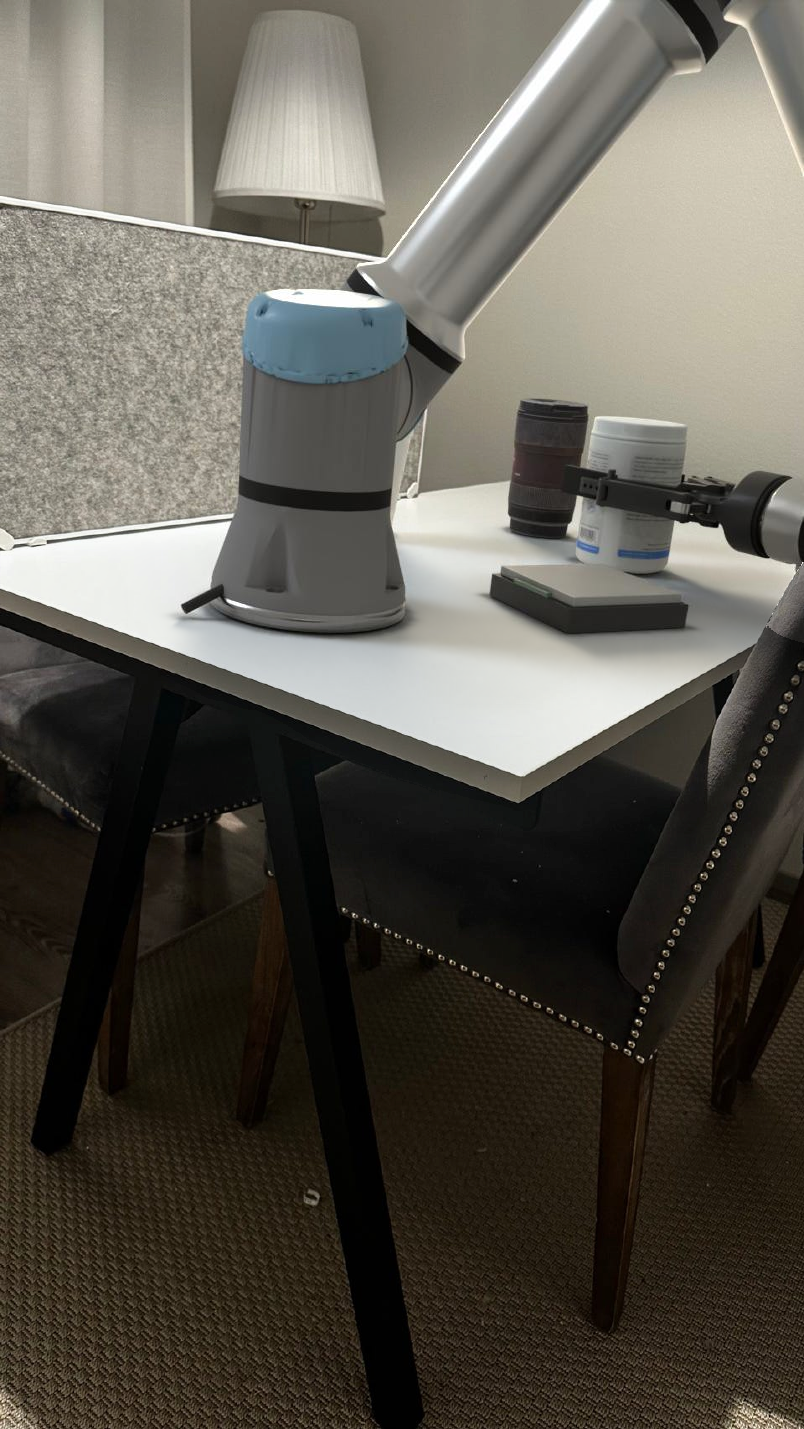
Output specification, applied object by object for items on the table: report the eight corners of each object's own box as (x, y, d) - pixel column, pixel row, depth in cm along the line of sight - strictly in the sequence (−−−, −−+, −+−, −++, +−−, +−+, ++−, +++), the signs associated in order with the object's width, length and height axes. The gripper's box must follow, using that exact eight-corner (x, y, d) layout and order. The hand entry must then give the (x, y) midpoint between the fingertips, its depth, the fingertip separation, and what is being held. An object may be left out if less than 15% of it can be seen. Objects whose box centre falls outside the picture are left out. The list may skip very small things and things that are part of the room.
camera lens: (490, 525, 130) (506, 395, 125) (549, 526, 134) (566, 399, 129) (524, 539, 124) (541, 402, 119) (584, 540, 127) (604, 407, 122)
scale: (567, 633, 86) (572, 599, 85) (489, 595, 96) (493, 564, 95) (685, 627, 91) (691, 595, 91) (599, 592, 101) (603, 562, 100)
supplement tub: (673, 565, 117) (698, 424, 112) (656, 580, 108) (683, 428, 103) (585, 551, 120) (606, 413, 115) (562, 564, 112) (583, 416, 107)
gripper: (696, 566, 93) (518, 516, 109) (841, 554, 106) (663, 511, 122) (712, 477, 90) (528, 440, 107) (859, 476, 103) (675, 442, 120)
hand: (600, 478), depth 115 cm, fingers closed on supplement tub, 9 cm apart
